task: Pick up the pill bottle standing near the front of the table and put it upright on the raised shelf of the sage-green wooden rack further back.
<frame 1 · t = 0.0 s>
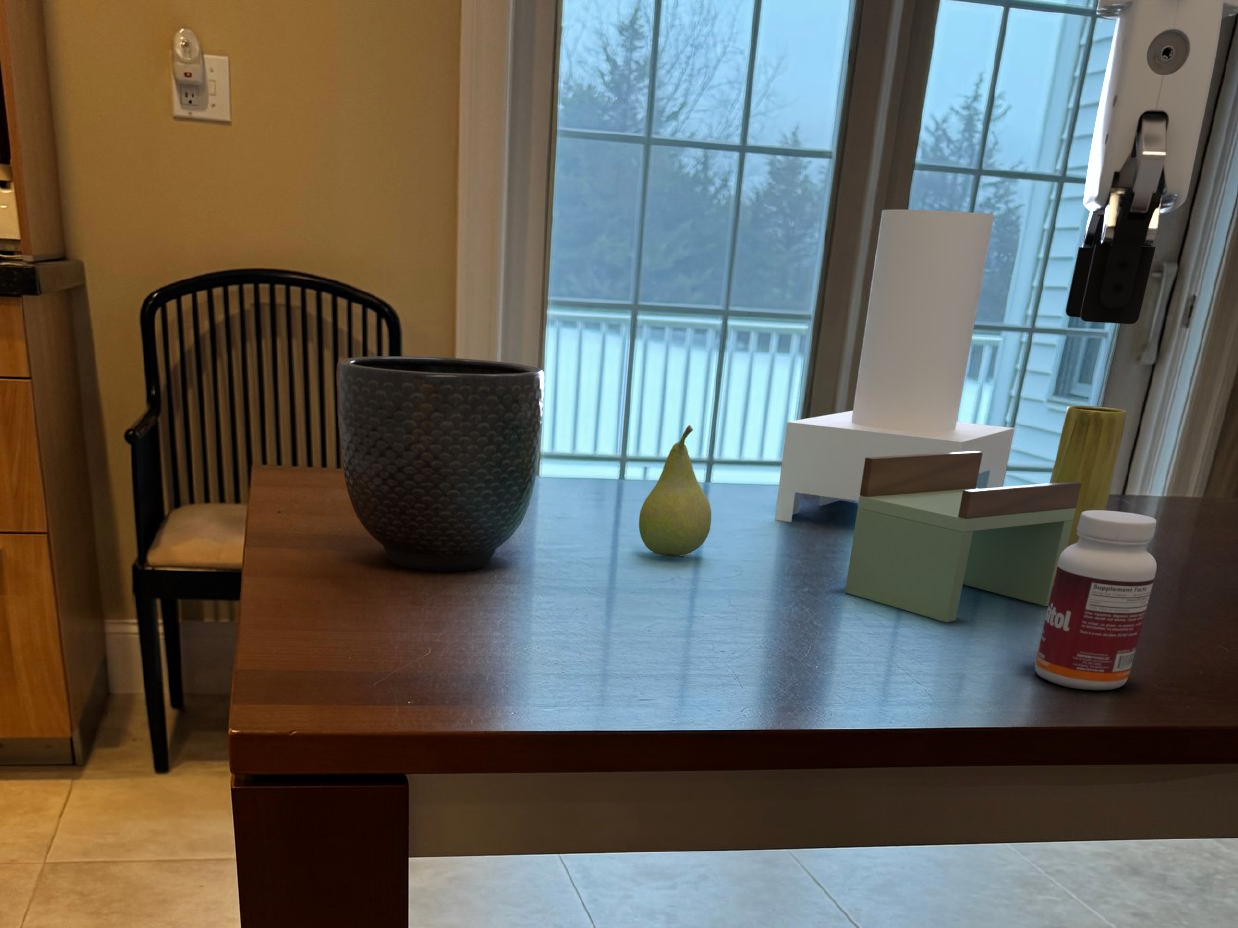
hand: (1098, 319, 80), 22 cm above the table, tool pointing down, fingers open, 9 cm apart
planter: (439, 563, 114), on the table
vase: (1060, 568, 125), on the table
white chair: (886, 522, 143), on the table
fruit: (672, 559, 120), on the table
pill bottle: (1078, 682, 90), on the table
rack: (949, 598, 110), on the table
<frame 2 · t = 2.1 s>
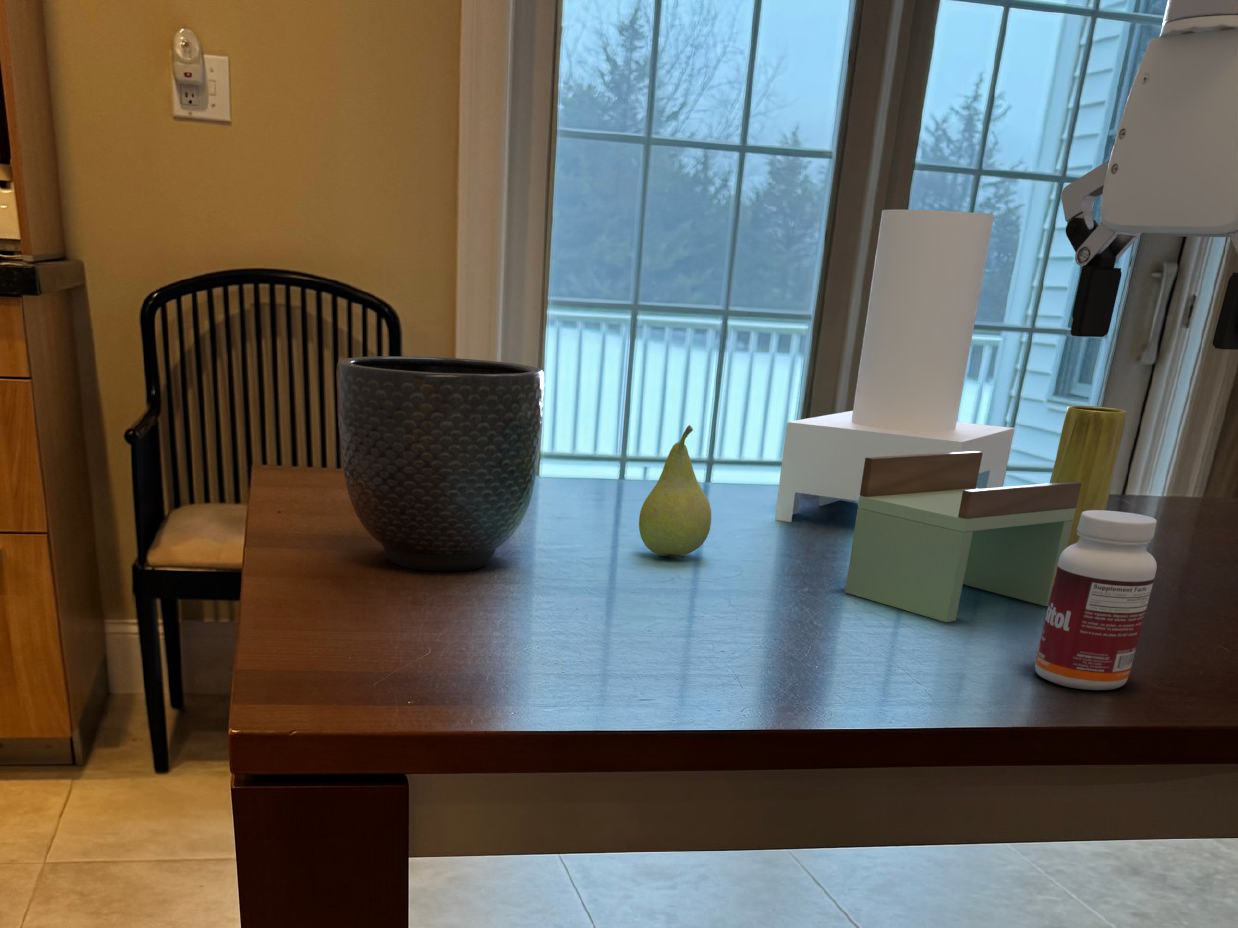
hand: (1156, 342, 80), 21 cm above the table, tool pointing down, fingers open, 9 cm apart
nothing on the table moved.
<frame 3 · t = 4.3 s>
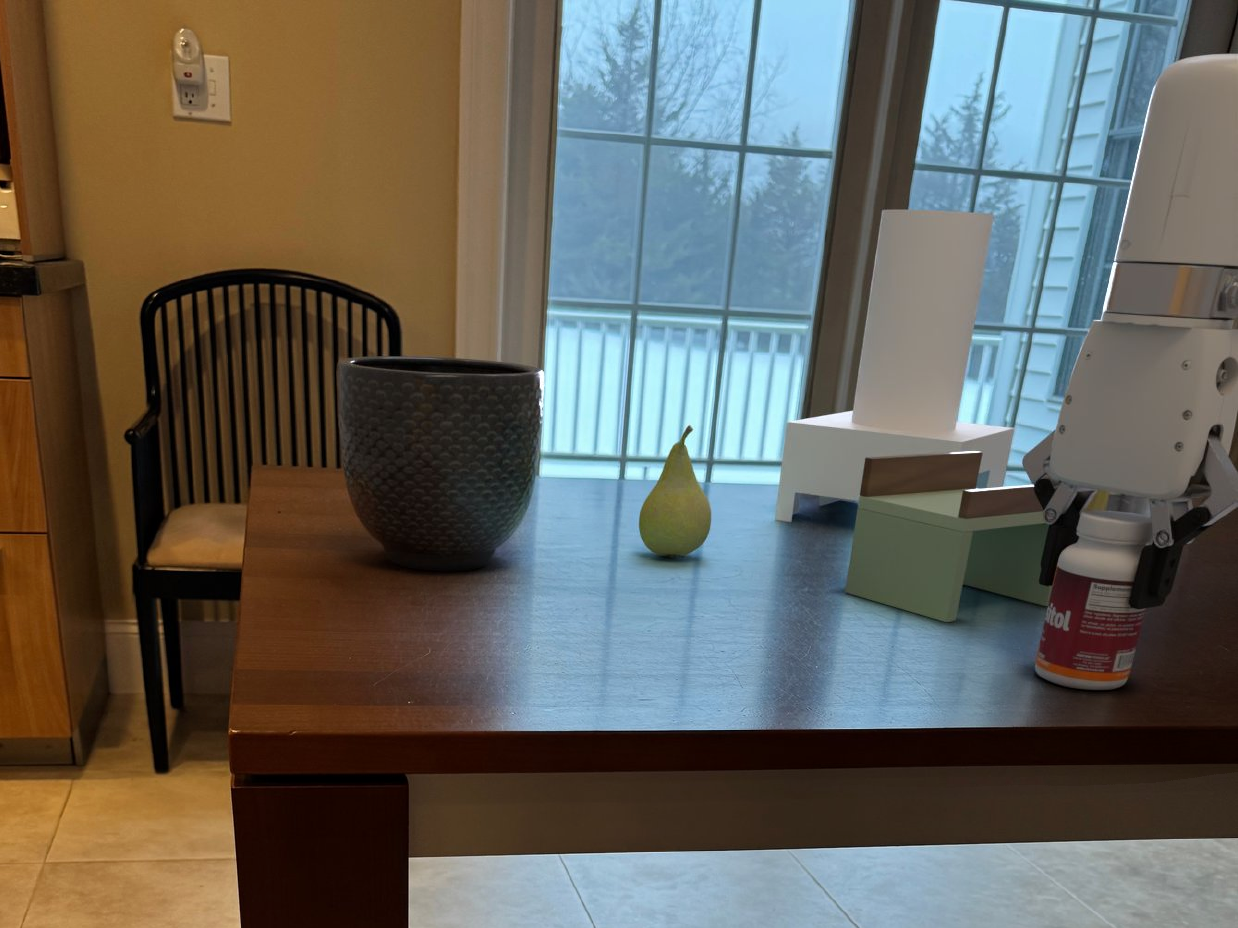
hand: (1100, 592, 87), 6 cm above the table, tool pointing down, fingers closed on pill bottle, 6 cm apart
pill bottle: (1078, 682, 90), on the table, touching gripper
everything else where it was.
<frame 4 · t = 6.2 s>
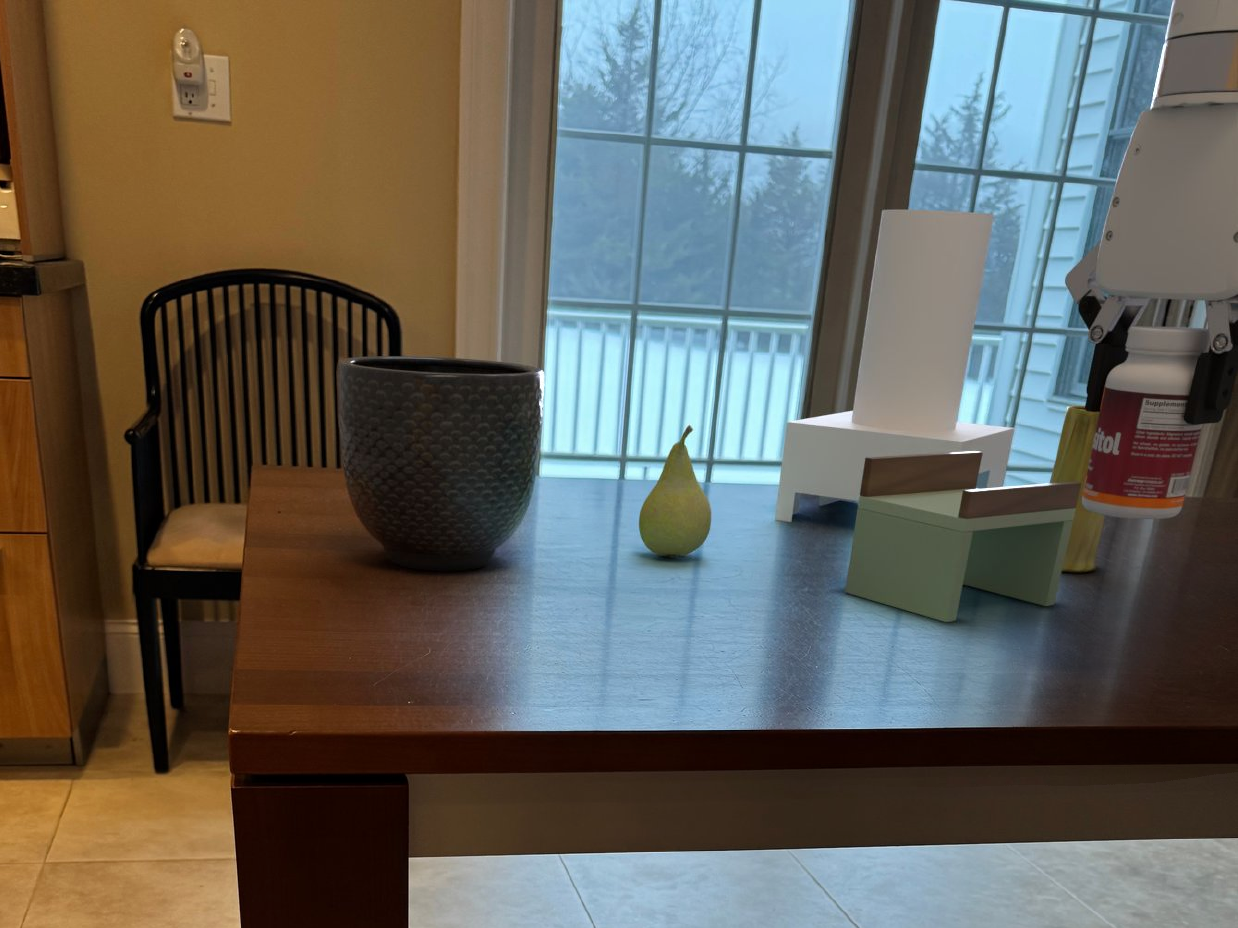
hand: (1151, 413, 82), 17 cm above the table, tool pointing down, fingers closed on pill bottle, 6 cm apart
pill bottle: (1128, 515, 85), point 11 cm above the table, touching gripper
everything else where it was.
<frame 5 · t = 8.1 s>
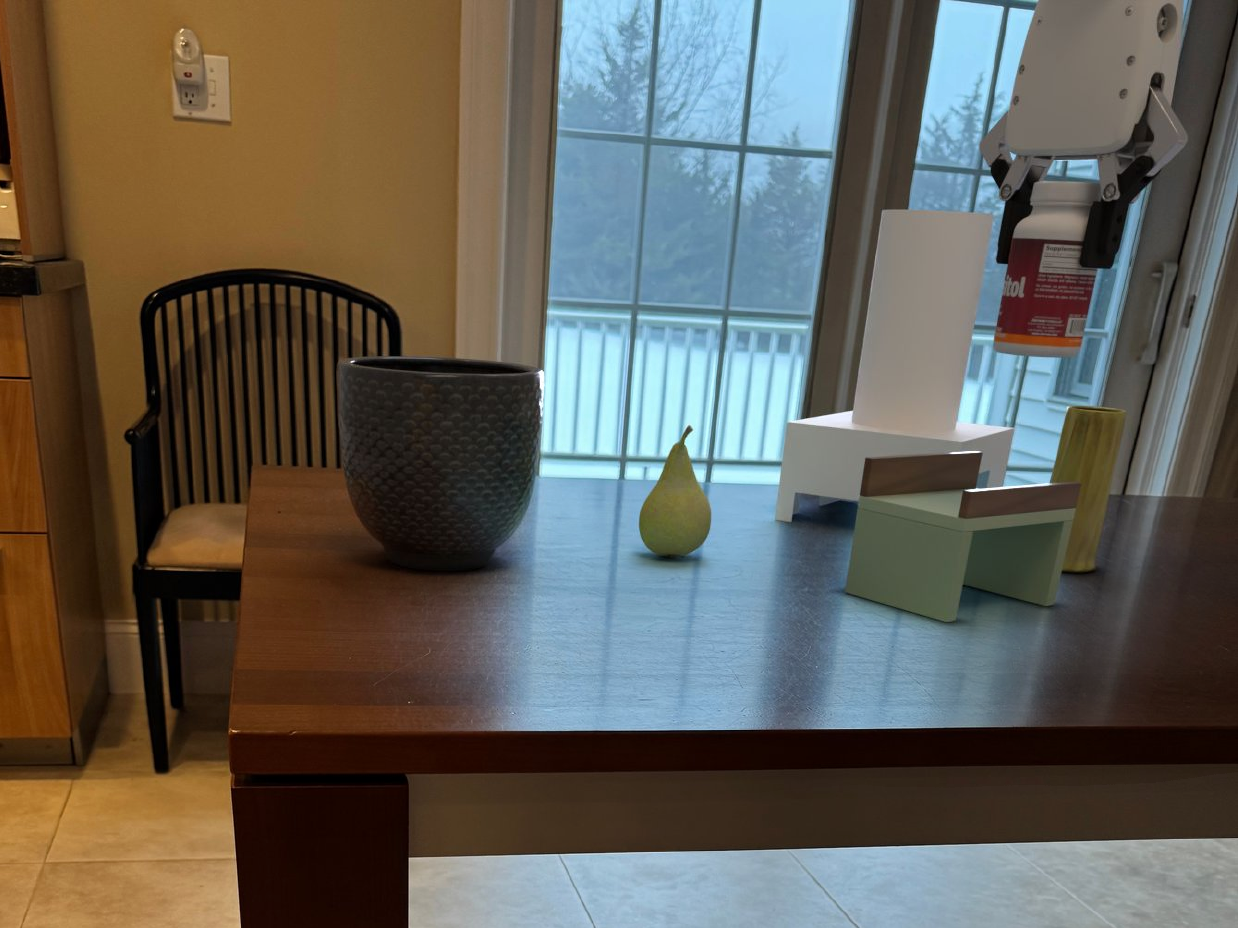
hand: (1053, 263, 92), 26 cm above the table, tool pointing down, fingers closed on pill bottle, 6 cm apart
pill bottle: (1033, 358, 95), point 19 cm above the table, touching gripper
everything else where it was.
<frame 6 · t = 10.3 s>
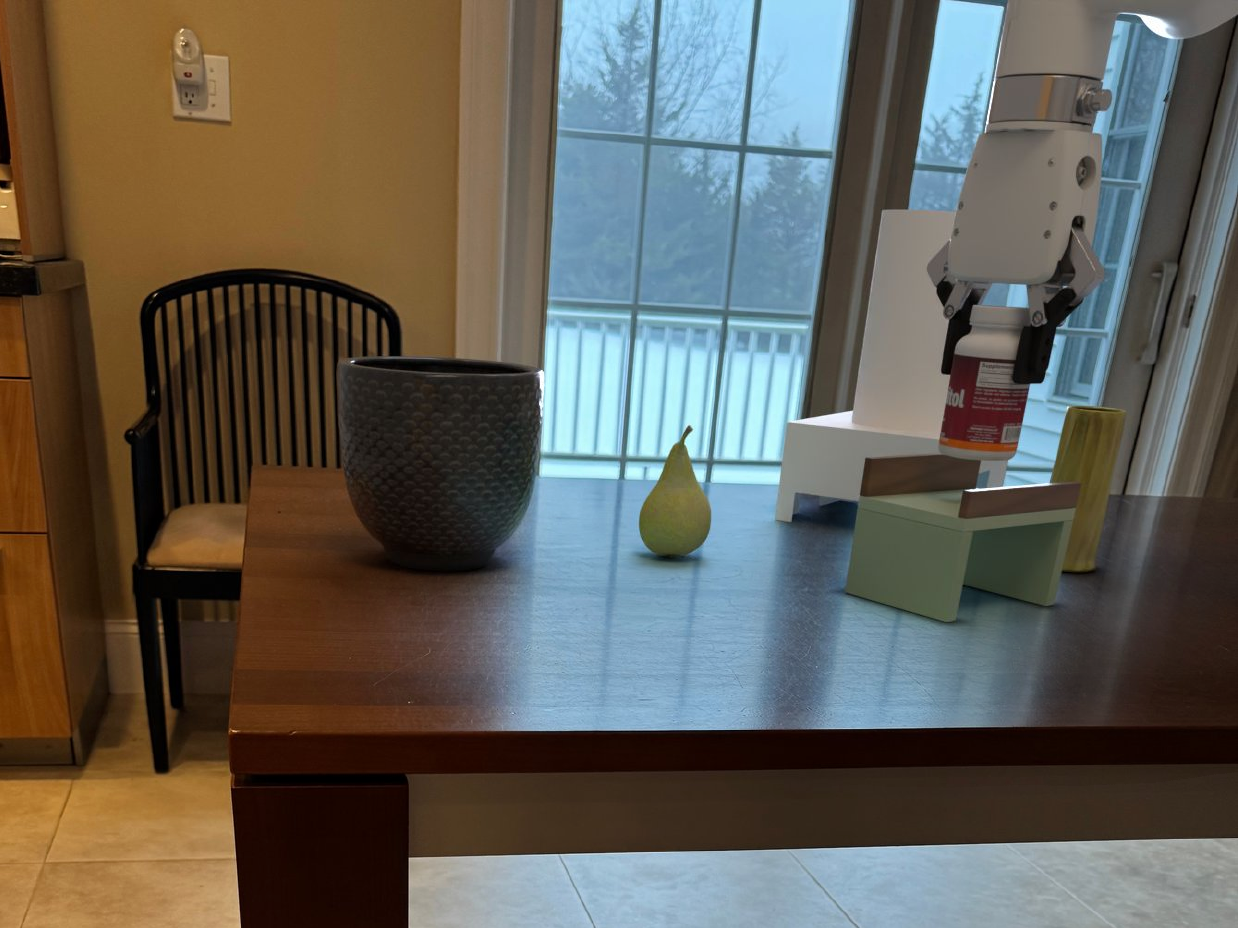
hand: (991, 376, 102), 18 cm above the table, tool pointing down, fingers closed on pill bottle, 6 cm apart
pill bottle: (975, 458, 105), point 11 cm above the table, touching gripper
everything else where it was.
when the fingers open (14 cm above the table, at t = 11.8 s): pill bottle stays where it is, resting on rack.
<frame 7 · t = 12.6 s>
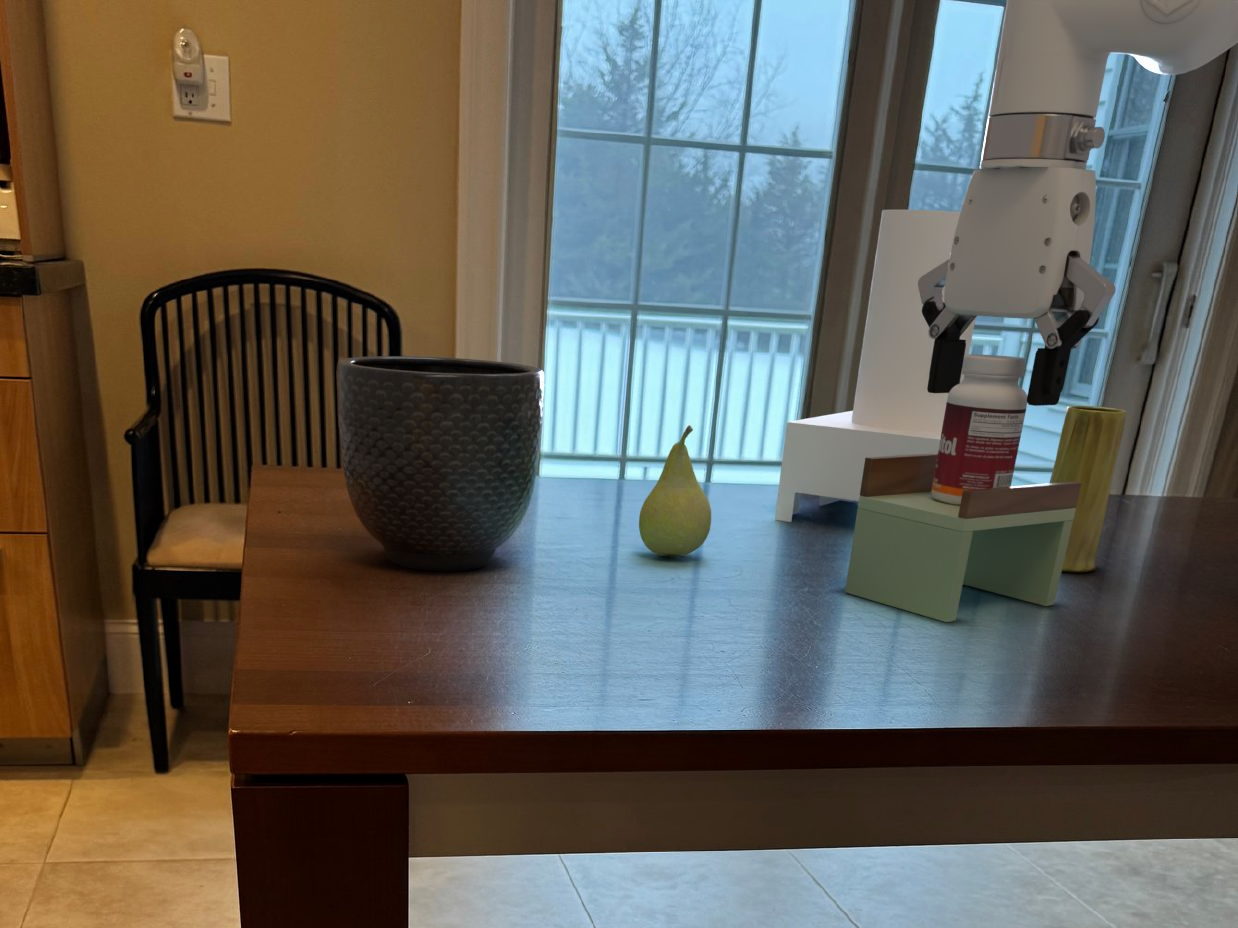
hand: (990, 398, 103), 16 cm above the table, tool pointing down, fingers open, 9 cm apart
pill bottle: (967, 504, 107), point 8 cm above the table, touching rack
everything else where it was.
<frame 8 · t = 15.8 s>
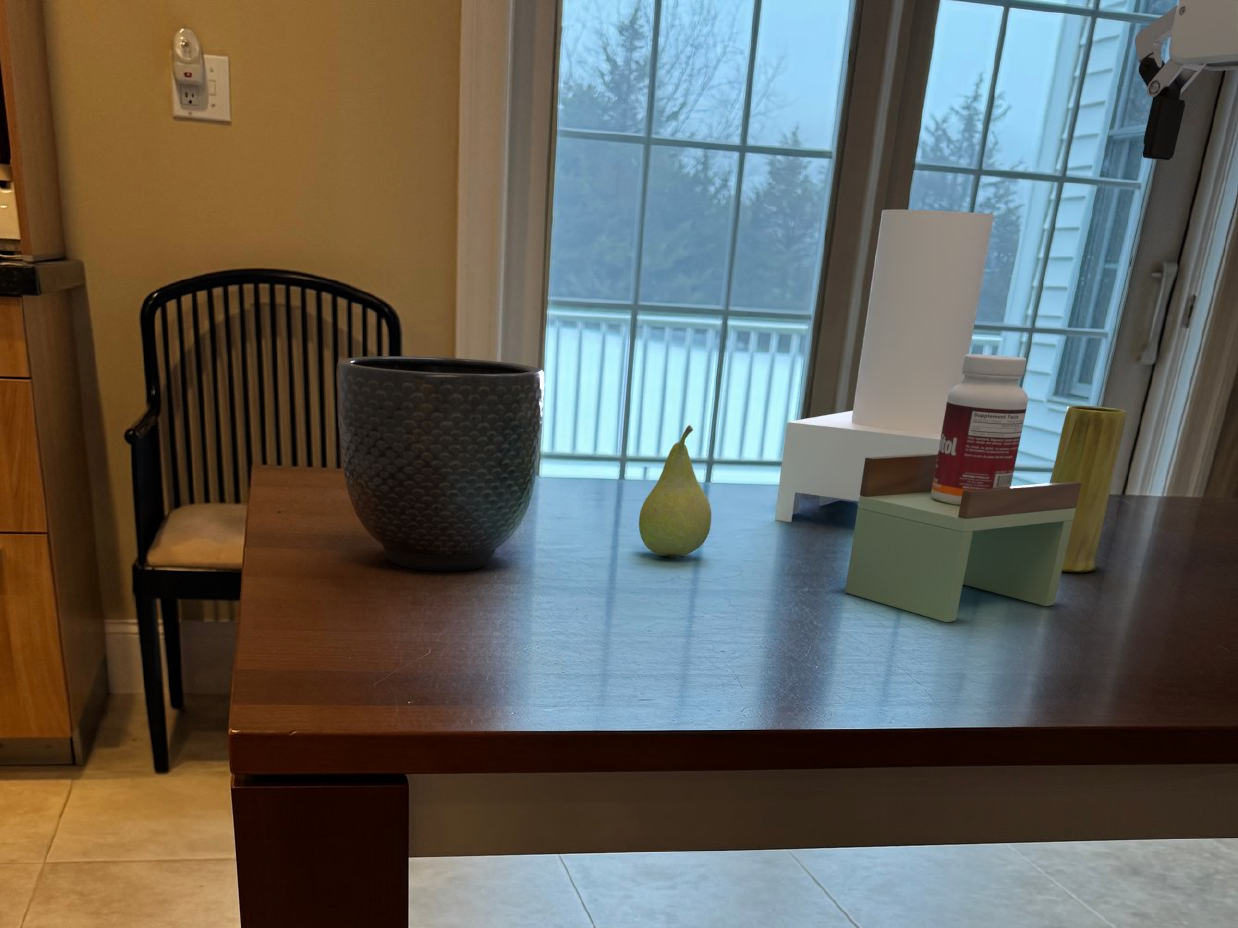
hand: (1215, 157, 97), 33 cm above the table, tool pointing down, fingers open, 9 cm apart
nothing on the table moved.
at the end: pill bottle inside the target area on the rack (0.1 cm from its centre), point 7.8 cm above the rack's base; pill bottle tilted 0°; the gripper is holding nothing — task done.
